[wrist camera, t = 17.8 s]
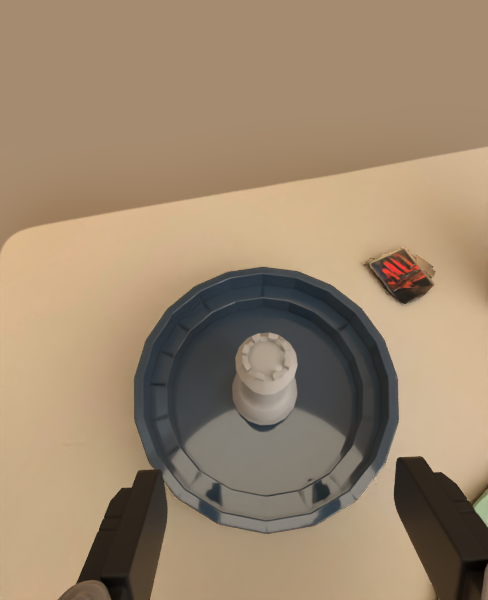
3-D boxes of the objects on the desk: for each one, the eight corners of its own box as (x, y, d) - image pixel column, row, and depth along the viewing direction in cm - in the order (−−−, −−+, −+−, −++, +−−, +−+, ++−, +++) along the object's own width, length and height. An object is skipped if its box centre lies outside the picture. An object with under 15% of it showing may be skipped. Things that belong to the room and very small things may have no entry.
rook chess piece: (241, 434, 24) (234, 411, 17) (225, 371, 26) (213, 327, 19) (305, 416, 25) (324, 386, 18) (285, 355, 27) (294, 306, 20)
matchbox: (408, 310, 29) (410, 307, 28) (358, 269, 31) (359, 266, 30) (444, 276, 30) (447, 273, 30) (393, 238, 32) (395, 235, 32)
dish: (327, 583, 21) (341, 601, 18) (104, 445, 25) (79, 437, 21) (407, 346, 28) (429, 324, 24) (220, 265, 31) (215, 237, 28)
